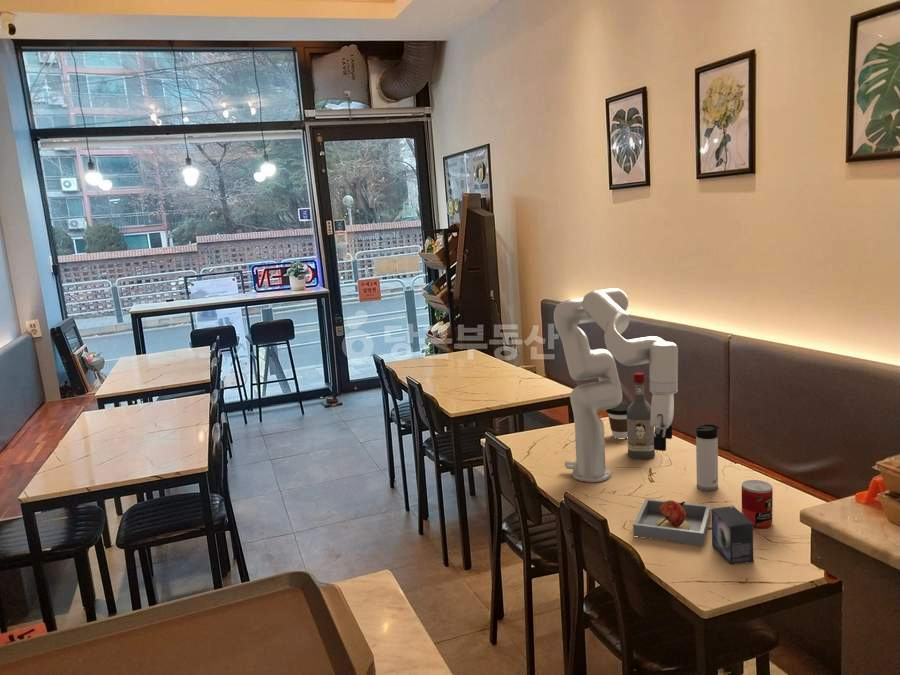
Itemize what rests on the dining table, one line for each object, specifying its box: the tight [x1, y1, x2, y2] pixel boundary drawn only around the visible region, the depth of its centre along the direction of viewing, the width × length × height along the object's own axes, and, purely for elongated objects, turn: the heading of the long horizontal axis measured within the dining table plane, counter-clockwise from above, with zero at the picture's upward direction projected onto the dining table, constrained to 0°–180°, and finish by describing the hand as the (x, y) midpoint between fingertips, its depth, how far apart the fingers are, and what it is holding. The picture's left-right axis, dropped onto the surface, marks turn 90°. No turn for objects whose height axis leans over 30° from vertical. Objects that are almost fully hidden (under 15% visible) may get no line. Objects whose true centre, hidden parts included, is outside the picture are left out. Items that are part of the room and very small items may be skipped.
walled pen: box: [632, 498, 712, 547], centre depth 193 cm, size 18×18×4 cm
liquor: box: [627, 372, 656, 460], centre depth 248 cm, size 9×9×30 cm
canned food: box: [741, 479, 774, 530], centre depth 191 cm, size 8×8×11 cm
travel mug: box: [695, 423, 720, 492], centre depth 217 cm, size 6×7×20 cm
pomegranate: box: [657, 499, 686, 527], centre depth 193 cm, size 7×7×10 cm
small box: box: [711, 505, 755, 565], centre depth 176 cm, size 11×6×10 cm, turn 5°
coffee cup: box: [605, 403, 630, 439], centre depth 270 cm, size 11×11×12 cm
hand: (663, 444), depth 198 cm, fingers open, 9 cm apart
